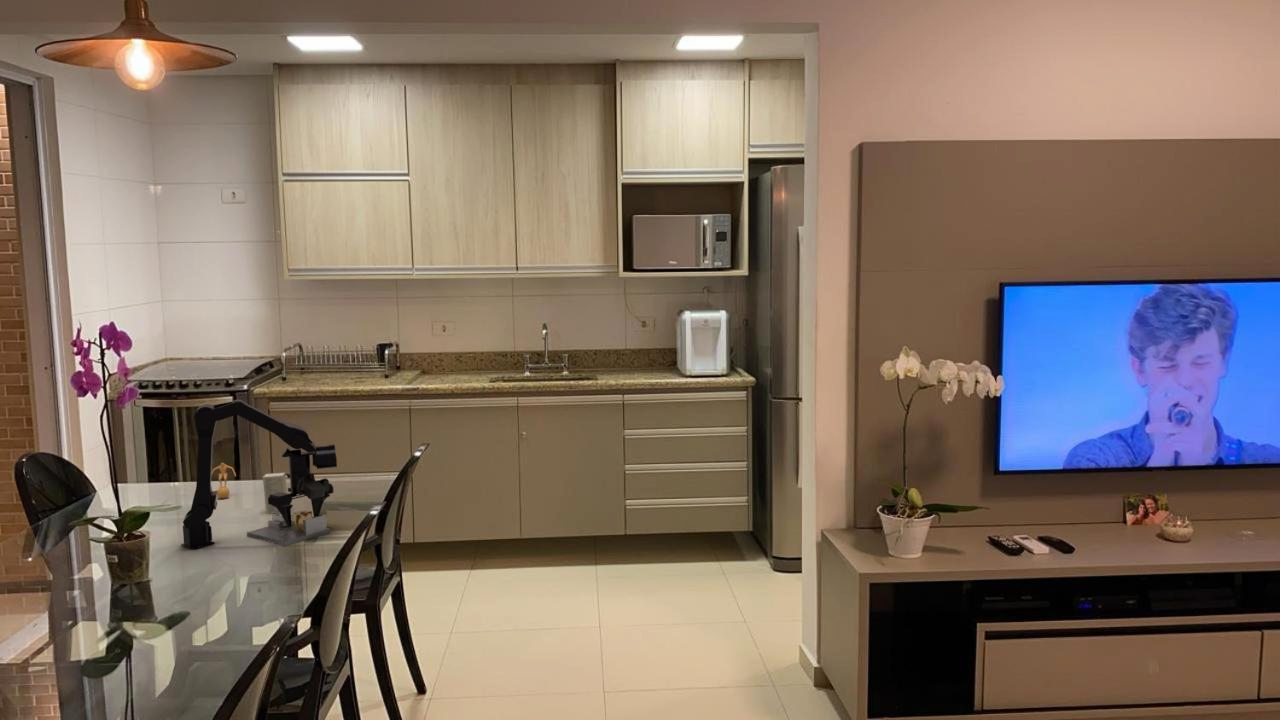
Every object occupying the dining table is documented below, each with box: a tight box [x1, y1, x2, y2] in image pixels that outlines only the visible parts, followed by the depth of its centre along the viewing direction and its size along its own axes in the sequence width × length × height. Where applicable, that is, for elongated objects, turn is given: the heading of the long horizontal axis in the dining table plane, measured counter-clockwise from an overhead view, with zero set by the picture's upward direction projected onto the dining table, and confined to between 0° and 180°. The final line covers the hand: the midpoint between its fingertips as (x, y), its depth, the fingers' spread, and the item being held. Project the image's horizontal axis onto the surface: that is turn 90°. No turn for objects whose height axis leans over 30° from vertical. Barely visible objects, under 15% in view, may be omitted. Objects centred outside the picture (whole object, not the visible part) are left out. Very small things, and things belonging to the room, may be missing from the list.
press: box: [246, 513, 331, 546], centre depth 273 cm, size 15×18×6 cm
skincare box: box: [262, 472, 288, 515], centre depth 299 cm, size 6×4×12 cm
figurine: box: [211, 462, 237, 500], centre depth 318 cm, size 8×6×12 cm
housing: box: [293, 510, 313, 532], centre depth 274 cm, size 5×5×5 cm
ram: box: [271, 508, 294, 527], centre depth 278 cm, size 4×7×8 cm, turn 56°
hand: (303, 522), depth 274 cm, fingers open, 9 cm apart
